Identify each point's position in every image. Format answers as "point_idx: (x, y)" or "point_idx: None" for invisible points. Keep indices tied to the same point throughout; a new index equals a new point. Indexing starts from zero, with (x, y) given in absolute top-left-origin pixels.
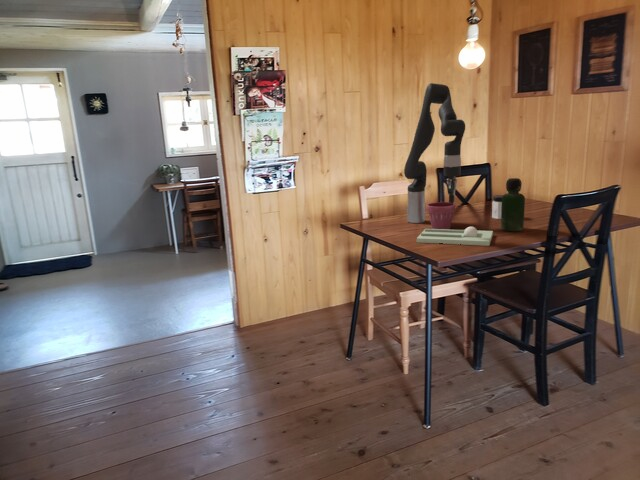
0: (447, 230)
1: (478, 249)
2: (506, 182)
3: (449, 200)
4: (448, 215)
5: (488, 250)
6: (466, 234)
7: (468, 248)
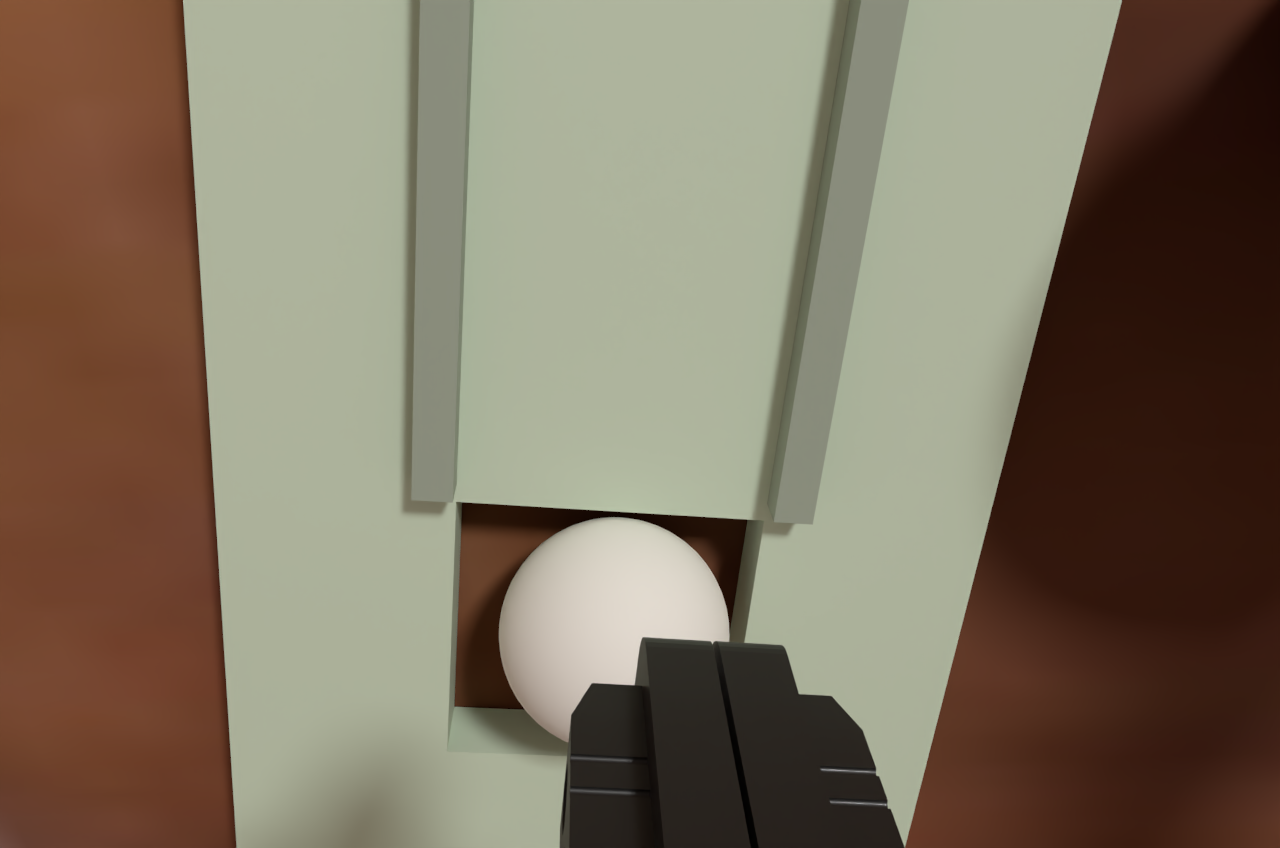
0: (825, 220)
1: (16, 691)
2: None
3: (643, 709)
4: None
5: (6, 800)
6: (520, 570)
7: (27, 567)
